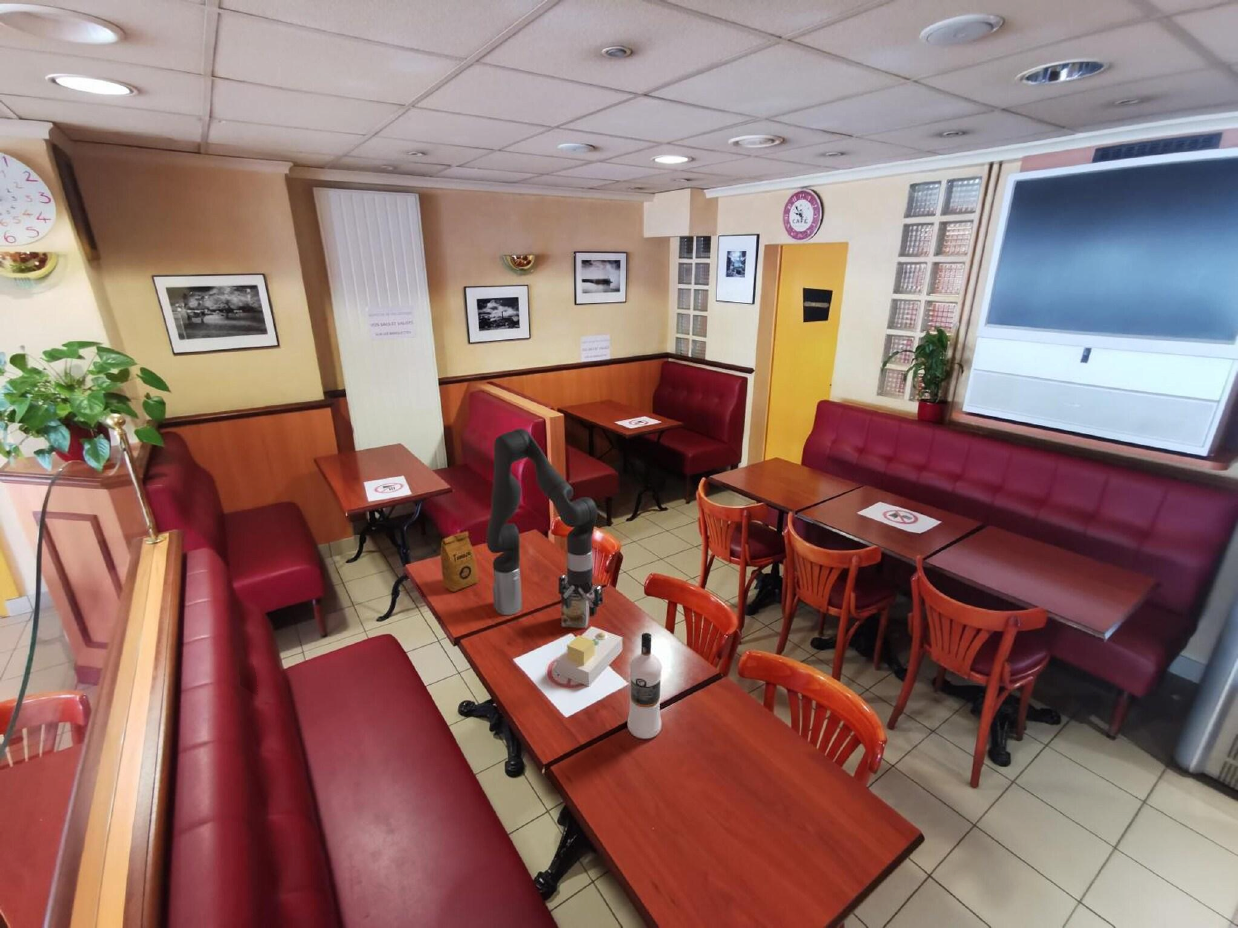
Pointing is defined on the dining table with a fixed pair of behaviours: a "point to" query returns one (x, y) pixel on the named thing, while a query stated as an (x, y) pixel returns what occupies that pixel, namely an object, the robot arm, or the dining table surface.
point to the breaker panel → (604, 655)
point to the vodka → (645, 692)
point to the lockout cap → (581, 650)
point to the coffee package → (458, 562)
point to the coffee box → (575, 611)
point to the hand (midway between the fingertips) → (580, 611)
